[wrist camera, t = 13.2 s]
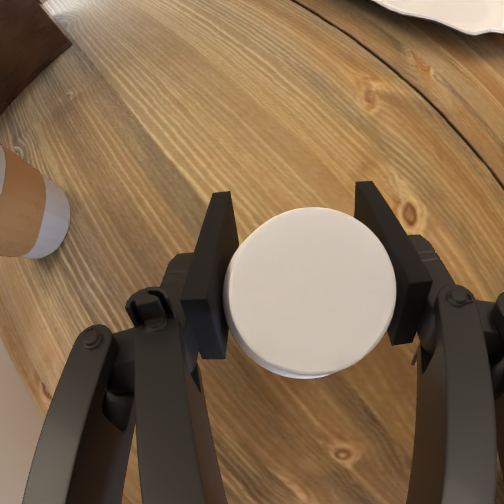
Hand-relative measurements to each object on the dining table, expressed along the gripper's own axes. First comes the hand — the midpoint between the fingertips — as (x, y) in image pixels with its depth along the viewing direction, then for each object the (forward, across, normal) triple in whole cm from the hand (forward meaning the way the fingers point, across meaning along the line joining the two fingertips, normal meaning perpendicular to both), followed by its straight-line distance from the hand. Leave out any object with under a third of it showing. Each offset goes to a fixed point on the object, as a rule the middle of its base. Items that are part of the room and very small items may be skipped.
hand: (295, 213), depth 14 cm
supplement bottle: (0, 0, -5) cm, 5 cm away
